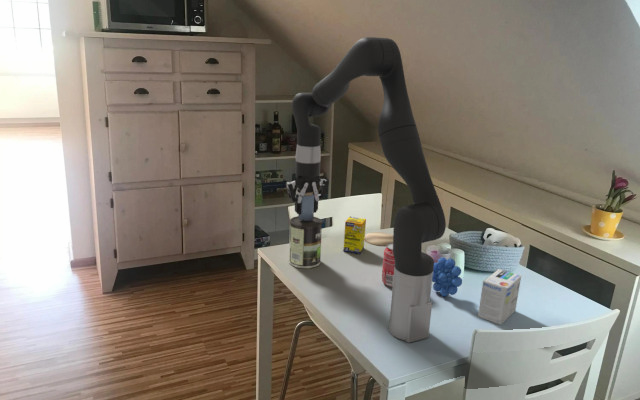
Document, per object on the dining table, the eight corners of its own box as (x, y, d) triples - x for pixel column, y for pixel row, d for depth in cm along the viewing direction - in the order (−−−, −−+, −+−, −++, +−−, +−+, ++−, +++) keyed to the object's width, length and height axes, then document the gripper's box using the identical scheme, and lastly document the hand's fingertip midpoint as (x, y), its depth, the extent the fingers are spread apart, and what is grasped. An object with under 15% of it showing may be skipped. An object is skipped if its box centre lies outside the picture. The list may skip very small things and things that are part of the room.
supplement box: (343, 251, 181) (344, 221, 177) (347, 245, 186) (349, 216, 183) (360, 254, 179) (362, 223, 176) (364, 248, 185) (366, 218, 181)
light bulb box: (492, 302, 150) (498, 267, 147) (516, 311, 146) (522, 275, 143) (476, 316, 142) (482, 280, 139) (501, 326, 138) (507, 288, 135)
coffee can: (322, 257, 175) (324, 216, 171) (317, 270, 166) (319, 227, 162) (292, 254, 177) (293, 214, 173) (285, 266, 167) (286, 224, 163)
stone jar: (316, 219, 166) (317, 193, 163) (302, 221, 164) (303, 194, 161) (309, 215, 170) (310, 189, 167) (295, 216, 168) (296, 190, 165)
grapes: (469, 301, 150) (474, 262, 146) (452, 306, 147) (457, 266, 143) (440, 284, 159) (444, 247, 156) (423, 289, 156) (427, 251, 152)
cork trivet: (403, 243, 191) (403, 241, 190) (375, 247, 185) (375, 246, 185) (385, 231, 201) (385, 230, 201) (357, 235, 195) (357, 234, 195)
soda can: (404, 279, 162) (408, 242, 158) (405, 289, 155) (409, 251, 152) (381, 277, 162) (384, 240, 159) (381, 287, 156) (384, 249, 152)
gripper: (291, 163, 155) (290, 219, 160) (334, 160, 161) (332, 213, 166) (281, 158, 161) (280, 211, 166) (323, 155, 168) (321, 206, 173)
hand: (306, 212), depth 166 cm, fingers closed on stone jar, 4 cm apart
